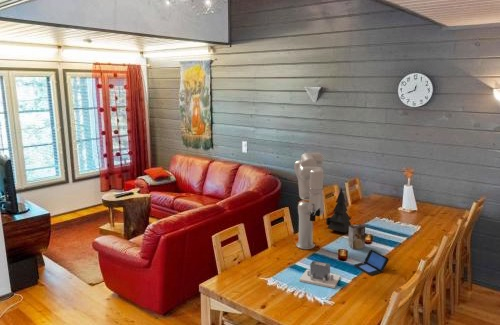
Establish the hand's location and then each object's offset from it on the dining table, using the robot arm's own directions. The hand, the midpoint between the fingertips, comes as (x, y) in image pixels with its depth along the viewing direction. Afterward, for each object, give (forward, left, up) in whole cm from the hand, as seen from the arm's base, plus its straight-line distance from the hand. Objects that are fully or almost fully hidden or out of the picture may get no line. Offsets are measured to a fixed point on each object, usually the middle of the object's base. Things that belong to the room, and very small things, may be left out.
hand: (315, 218), depth 234 cm
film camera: (-81, -7, -32) cm, 88 cm away
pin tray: (+13, +8, -31) cm, 35 cm away
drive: (+13, +8, -30) cm, 34 cm away
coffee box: (-41, +18, -31) cm, 54 cm away
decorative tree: (-66, +1, -31) cm, 73 cm away
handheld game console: (-12, +32, -32) cm, 46 cm away
